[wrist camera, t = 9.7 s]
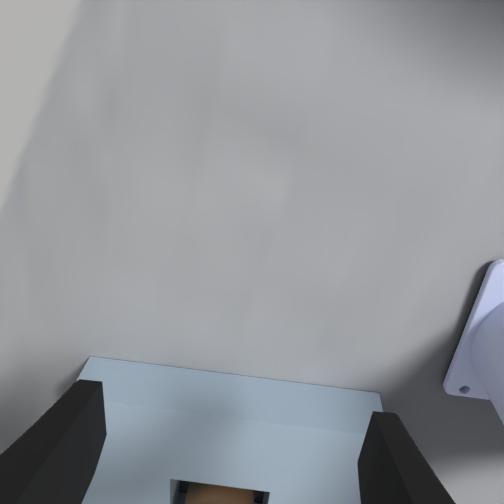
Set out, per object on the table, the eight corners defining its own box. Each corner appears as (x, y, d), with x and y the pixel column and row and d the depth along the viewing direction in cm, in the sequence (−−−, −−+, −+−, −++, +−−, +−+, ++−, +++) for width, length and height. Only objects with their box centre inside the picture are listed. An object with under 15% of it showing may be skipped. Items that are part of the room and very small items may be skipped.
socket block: (379, 392, 25) (389, 438, 22) (327, 558, 33) (331, 607, 30) (90, 356, 25) (66, 396, 23) (105, 528, 33) (88, 574, 30)
